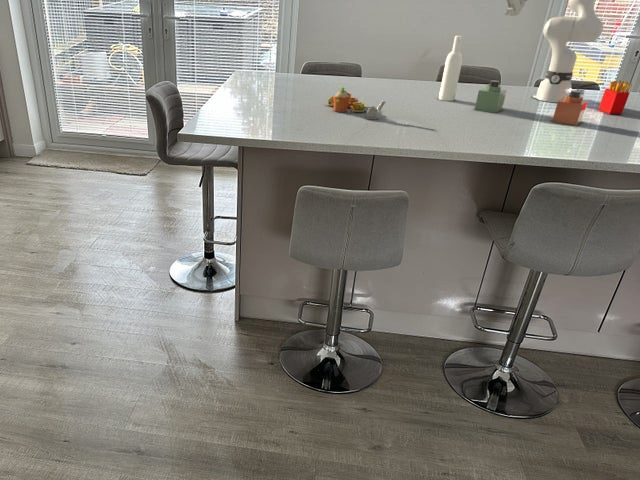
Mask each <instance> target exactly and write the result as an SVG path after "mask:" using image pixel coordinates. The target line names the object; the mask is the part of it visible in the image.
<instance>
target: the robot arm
mask: <svg viewBox="0 0 640 480" xmlns="http://www.w3.org/2000/svg"><path fill="white" fill-rule="evenodd" d="M528 1H529V0H506V5H507V9H505V11H504V15H505V16H509V17H514V16H518V15H520V13H521V11H522V10H523V8H524V7H525V5H526V2H528ZM595 2H596V0H568V7H569V9H570V10H571V11H572V12H574V13H575V14H577V16H564V15H563V16H554V17H551V18H549V19H548V20H547V21H546V23H545V24H544V27H543V30H542V31H543V32H542V33H543V36H544V38H545V39H546V40H547V42H548V43H549V45H550V48H551V58H550V62H549V67H548V69H547V70H546V73H545V78H544V79H543V80H542V81H540V83H539V87H538V89H537V93H536V94H533V95H532V98H534V99H537V100H539V101H543V102H548V103H558V101H559V100H561V99H563V98H565V96H566V95H570V93H571V91H572V87H573V84H572V81H571V80H572V77H573V74H574V72H573V71H574V68H575V64H576V62H577V54H576V52H575V51H573V50H572V49H571V48H569V47H568V45H567V44H568V43H583V44H584V43H592V42H595V41H596V40H597V39H599V38H600V37H601V35H602V33H603V31H604V24H603V21H602V20H601V19H600V18H599V17H598V15H597V14H596V12H595ZM600 85H605V83H604V82H602V83H589V84H583V85H581V86H578V88H577V89H576V91H580V89H581V88H584V87H585V88H586V87H589V86H600Z"/></svg>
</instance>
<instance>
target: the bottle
mask: <svg viewBox="0 0 640 480" xmlns="http://www.w3.org/2000/svg"><path fill="white" fill-rule="evenodd" d="M463 38H464V36H463V35H455V36H454V39H453V40H454V41H453V46H452V49H451V50H452V51H450V52H449V53H448V54H447V57H446V59H445V63H444V69H443V74H442V79H441V83H440V84H441V85H440V90H439V93H438V100H439V101H444V102H453V101H454V100H455V98H456V93H457V89H458V83H459V78H460V74H461V69H462V64H463V54H462V53H461V48H462V43H463V40H464V39H463Z"/></svg>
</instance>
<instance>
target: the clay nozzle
mask: <svg viewBox="0 0 640 480" xmlns="http://www.w3.org/2000/svg"><path fill="white" fill-rule="evenodd" d="M570 92H571V93H570V96H569V97H576V98H579V97H580V96H581V94H582V91H580V90H578V91H577V90H571V91H570Z"/></svg>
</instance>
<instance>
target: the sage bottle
mask: <svg viewBox="0 0 640 480" xmlns="http://www.w3.org/2000/svg"><path fill="white" fill-rule="evenodd" d="M489 85H490V84H486V85H485V87H484V88H481V89H478V93H477V97H476V101H475V106H474V108H473V109H474V111H479V112H486V113H491V114H496V113H499V112H500V111H502V110H503V107H504V103H505V99H506V96H507V89H502V88H503V86H502V85H499V86H498V87H492V86H489Z"/></svg>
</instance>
